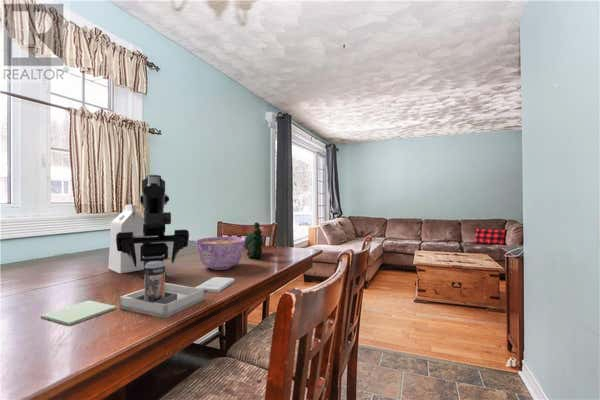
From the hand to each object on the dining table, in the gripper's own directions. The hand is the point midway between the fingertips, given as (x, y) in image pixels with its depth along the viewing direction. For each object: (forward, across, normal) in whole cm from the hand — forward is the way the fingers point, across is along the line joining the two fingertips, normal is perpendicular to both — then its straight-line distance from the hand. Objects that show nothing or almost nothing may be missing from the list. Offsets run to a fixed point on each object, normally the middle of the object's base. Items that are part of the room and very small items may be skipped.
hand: (154, 264), depth 80 cm
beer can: (+10, 0, +5) cm, 12 cm away
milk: (-26, -8, +42) cm, 50 cm away
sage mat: (+7, -17, +8) cm, 20 cm away
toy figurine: (-27, +45, +42) cm, 67 cm away
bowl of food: (-16, +25, +31) cm, 43 cm away
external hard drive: (+2, +18, +14) cm, 23 cm away
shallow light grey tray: (+9, +2, +6) cm, 11 cm away
